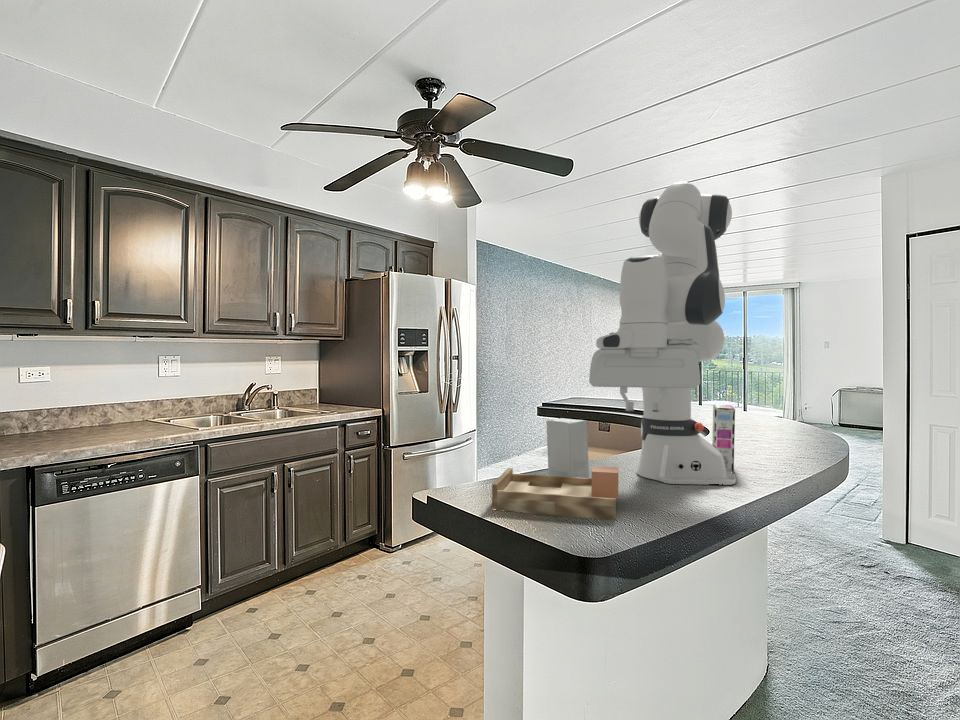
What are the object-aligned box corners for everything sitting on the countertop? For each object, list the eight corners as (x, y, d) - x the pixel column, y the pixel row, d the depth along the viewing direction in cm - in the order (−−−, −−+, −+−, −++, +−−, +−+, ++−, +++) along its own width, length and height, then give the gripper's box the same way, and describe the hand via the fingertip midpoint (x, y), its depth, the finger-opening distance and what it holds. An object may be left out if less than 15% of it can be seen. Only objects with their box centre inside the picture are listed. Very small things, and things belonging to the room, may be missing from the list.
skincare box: (589, 485, 119) (589, 420, 119) (570, 488, 116) (570, 422, 116) (564, 477, 126) (564, 416, 126) (545, 481, 123) (545, 418, 123)
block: (618, 492, 103) (618, 467, 103) (618, 499, 99) (618, 472, 99) (592, 490, 105) (592, 465, 105) (591, 497, 100) (591, 471, 100)
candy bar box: (735, 473, 130) (735, 408, 130) (713, 472, 132) (713, 407, 132) (732, 464, 141) (732, 404, 140) (711, 463, 143) (712, 403, 142)
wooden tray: (615, 497, 108) (615, 474, 108) (615, 520, 94) (615, 492, 94) (508, 490, 114) (508, 467, 114) (492, 510, 100) (492, 484, 100)
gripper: (698, 339, 100) (698, 411, 100) (590, 340, 105) (590, 408, 105) (704, 338, 94) (703, 414, 94) (588, 339, 99) (588, 411, 99)
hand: (642, 411), depth 100 cm, fingers open, 3 cm apart
